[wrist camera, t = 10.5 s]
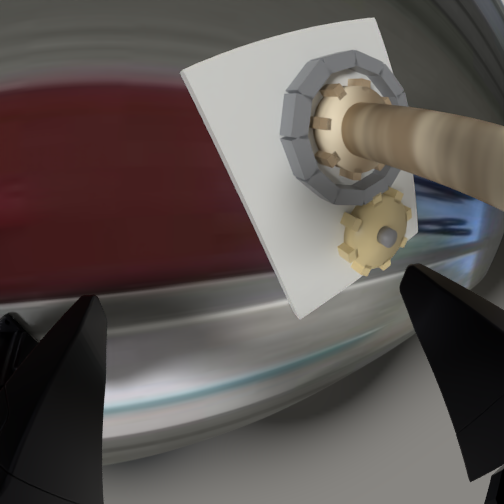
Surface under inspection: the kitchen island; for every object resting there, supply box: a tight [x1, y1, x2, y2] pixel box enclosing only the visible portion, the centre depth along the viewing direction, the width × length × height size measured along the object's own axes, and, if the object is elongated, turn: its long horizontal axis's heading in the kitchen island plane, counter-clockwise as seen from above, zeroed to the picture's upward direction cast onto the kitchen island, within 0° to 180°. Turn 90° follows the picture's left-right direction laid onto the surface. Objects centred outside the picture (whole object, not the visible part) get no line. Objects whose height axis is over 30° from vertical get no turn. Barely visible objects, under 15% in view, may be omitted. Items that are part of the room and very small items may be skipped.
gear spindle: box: [309, 78, 504, 211], centre depth 14 cm, size 8×8×14 cm
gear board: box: [180, 18, 418, 320], centre depth 21 cm, size 16×22×4 cm
